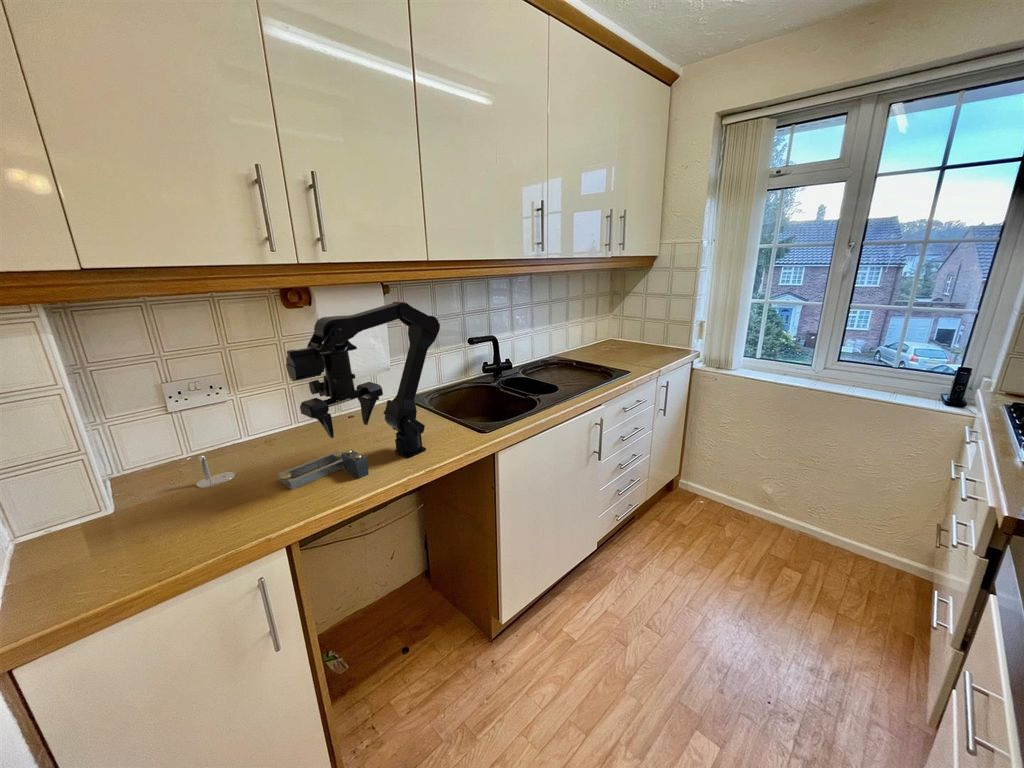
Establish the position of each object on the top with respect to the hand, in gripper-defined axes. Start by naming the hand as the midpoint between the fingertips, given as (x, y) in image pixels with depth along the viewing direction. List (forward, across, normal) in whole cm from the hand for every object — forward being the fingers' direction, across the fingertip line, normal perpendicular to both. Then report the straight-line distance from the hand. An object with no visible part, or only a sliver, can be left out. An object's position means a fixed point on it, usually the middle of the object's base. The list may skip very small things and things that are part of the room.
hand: (349, 430), depth 103 cm
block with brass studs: (+12, 0, 0) cm, 12 cm away
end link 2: (+12, +1, -9) cm, 15 cm away
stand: (+12, +24, -26) cm, 37 cm away
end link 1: (+12, +9, -9) cm, 17 cm away
